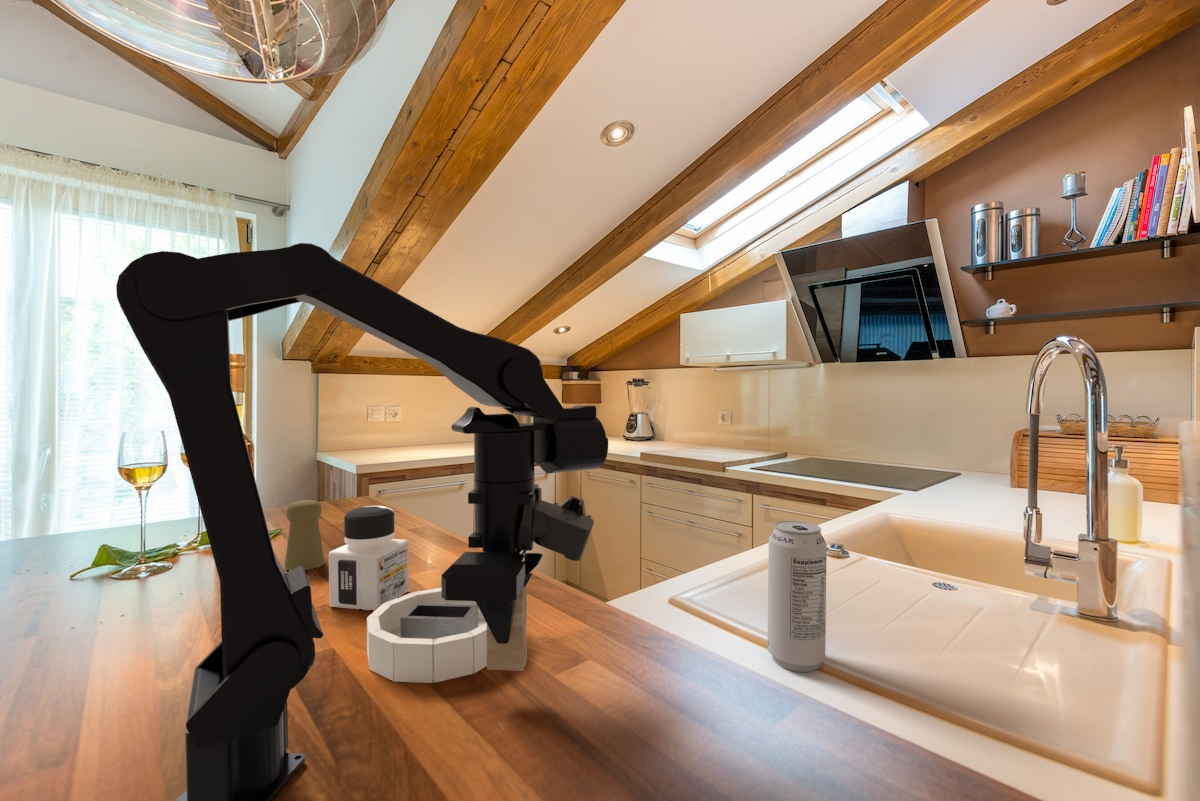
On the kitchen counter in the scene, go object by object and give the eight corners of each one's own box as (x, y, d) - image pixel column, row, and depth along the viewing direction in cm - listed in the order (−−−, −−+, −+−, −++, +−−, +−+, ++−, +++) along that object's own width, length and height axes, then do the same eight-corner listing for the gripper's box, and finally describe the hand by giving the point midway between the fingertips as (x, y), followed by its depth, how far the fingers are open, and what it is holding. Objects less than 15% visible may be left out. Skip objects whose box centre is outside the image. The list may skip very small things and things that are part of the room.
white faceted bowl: (487, 685, 55) (487, 646, 55) (339, 679, 56) (339, 641, 56) (520, 619, 71) (520, 588, 71) (404, 615, 72) (403, 585, 72)
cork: (286, 562, 93) (285, 499, 93) (325, 558, 96) (324, 496, 95) (282, 574, 88) (281, 506, 87) (324, 568, 90) (323, 502, 90)
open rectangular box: (469, 650, 61) (469, 621, 61) (396, 648, 61) (395, 619, 61) (481, 630, 66) (481, 603, 66) (414, 628, 66) (414, 601, 66)
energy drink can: (802, 644, 64) (804, 518, 64) (837, 670, 58) (839, 531, 58) (757, 651, 62) (758, 521, 62) (788, 678, 57) (789, 535, 56)
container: (378, 612, 73) (377, 516, 73) (328, 607, 75) (326, 513, 74) (409, 591, 81) (409, 503, 80) (363, 587, 82) (362, 501, 82)
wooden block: (523, 670, 52) (522, 587, 52) (486, 669, 52) (486, 586, 52) (526, 661, 54) (526, 581, 53) (491, 660, 54) (491, 580, 54)
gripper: (577, 499, 43) (577, 695, 43) (595, 464, 61) (595, 601, 62) (438, 497, 43) (439, 690, 44) (497, 463, 62) (498, 599, 62)
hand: (505, 637), depth 53 cm, fingers closed on wooden block, 2 cm apart
